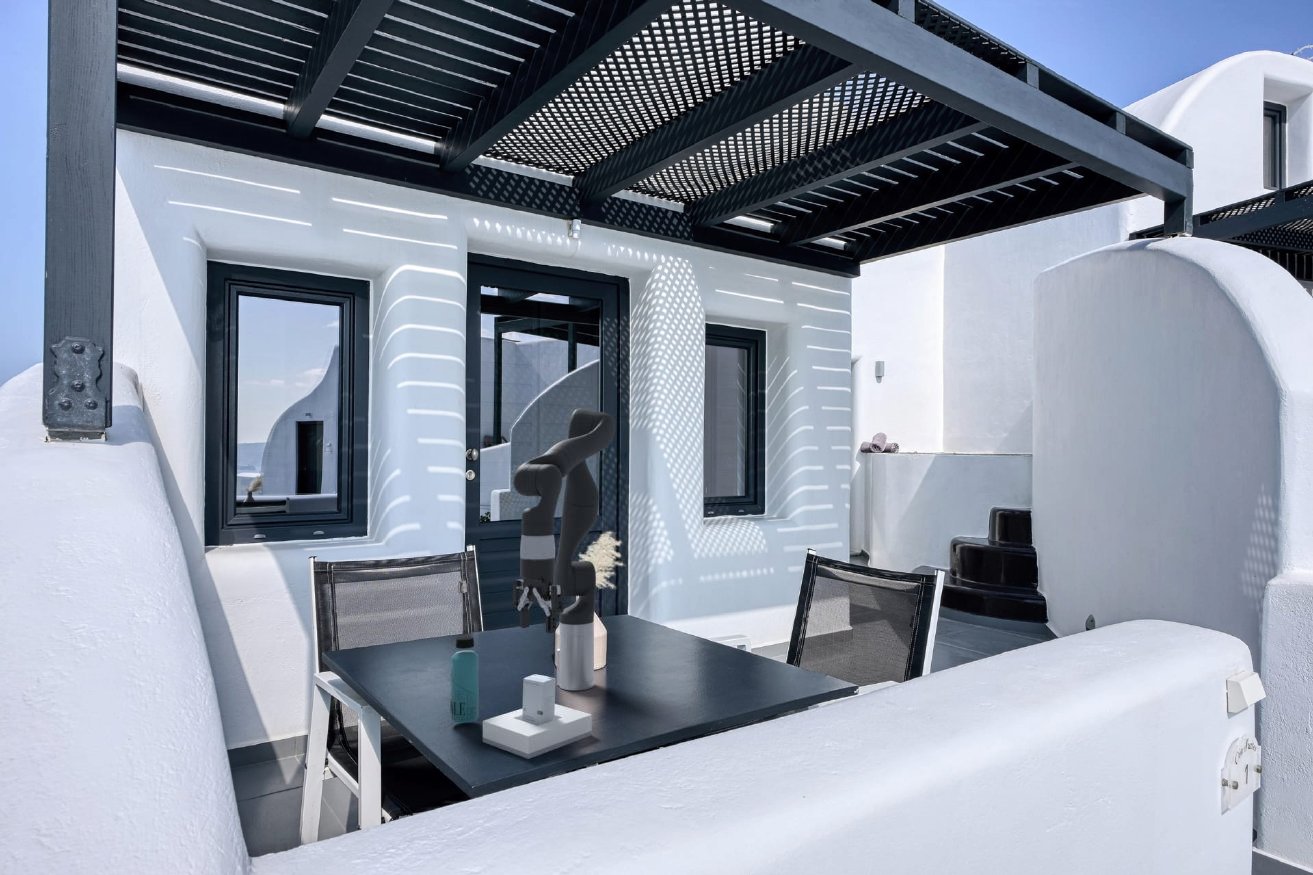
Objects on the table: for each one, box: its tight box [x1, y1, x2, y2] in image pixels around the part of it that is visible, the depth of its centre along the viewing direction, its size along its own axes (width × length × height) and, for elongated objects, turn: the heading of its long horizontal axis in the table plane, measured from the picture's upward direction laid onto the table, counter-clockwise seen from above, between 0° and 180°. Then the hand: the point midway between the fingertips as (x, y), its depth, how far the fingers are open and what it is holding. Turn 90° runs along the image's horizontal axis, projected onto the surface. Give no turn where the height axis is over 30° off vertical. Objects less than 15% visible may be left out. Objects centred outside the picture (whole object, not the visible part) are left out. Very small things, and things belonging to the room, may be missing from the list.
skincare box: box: [521, 673, 557, 726], centre depth 171 cm, size 6×4×12 cm
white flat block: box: [482, 703, 593, 760], centre depth 171 cm, size 15×18×4 cm
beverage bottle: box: [449, 635, 480, 724], centre depth 180 cm, size 6×7×20 cm
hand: (537, 630), depth 172 cm, fingers open, 8 cm apart
